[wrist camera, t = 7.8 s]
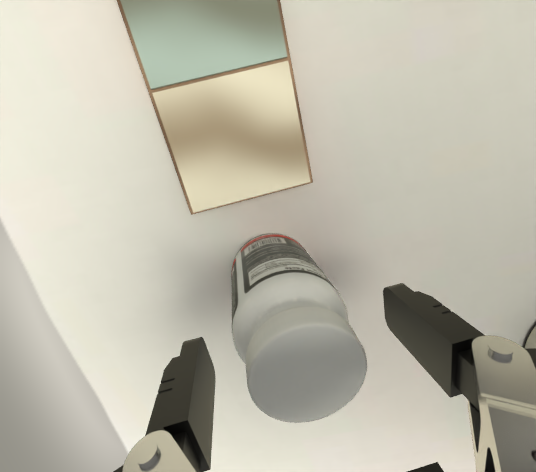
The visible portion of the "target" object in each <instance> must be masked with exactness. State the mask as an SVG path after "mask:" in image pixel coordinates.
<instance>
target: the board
mask: <svg viewBox="0 0 536 472" xmlns="http://www.w3.org/2000/svg"><path fill="white" fill-rule="evenodd" d="M117 2H118V5H119V8H120V11H121V14H122V17H123V20H124V23H125V25H126V28H127V31H128V34H129V37H130V40H131V43H132V46H133V48H134V51H135V54H136V57H137V60H138V63H139V66H140V69H141V71H142V74H143V77H144V80H145V83H146V86H147V89H148V92H149V94H150V97H151V100H152V103H153V106H154V109H155V112H156V115H157V118H158V120H159V123H160V126H161V129H162V132H163V135H164V138H165V141H166V143H167V146H168V149H169V152H170V155H171V158H172V161H173V164H174V166H175V169H176V172H177V175H178V178H179V181H180V184H181V187H182V189H183V192H184V195H185V198H186V201H187V204H188V207H189V210H190V212H191V214H195V213H199V212H203V211H207V210H210V209H214V208H218V207H222V206H225V205H229V204H233V203H237V202H241V201H244V200H248V199H252V198H256V197H260V196H263V195H267V194H271V193H275V192H278V191H282V190H286V189H290V188H294V187H297V186H301V185H305V184H309V183H312V182H313V180H312V175H311V169H310V164H309V158H308V153H307V147H306V141H305V136H304V130H303V125H302V119H301V114H300V108H299V103H298V97H297V92H296V86H295V81H294V75H293V70H292V64H291V59H290V53H289V48H288V42H287V37H286V31H285V26H284V20H283V15H282V9H281V3H280V0H117Z"/></svg>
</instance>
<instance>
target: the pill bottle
mask: <svg viewBox="0 0 536 472" xmlns="http://www.w3.org/2000/svg"><path fill="white" fill-rule="evenodd" d="M231 278H232V334H233V340H234V344H235V347H236V350H237V352H238V354H239V356H240V357H241V359H242V360H243V362H244V363H245V364H246V373H247V384H248V389H249V392H250V395H251V398H252V400H253V401H254V403H255V404H256V405H257V407H258V408H259V409H260V410H261V411H263V412H264V413H265V414H267V415H268V416H270V417H272V418H275V419H277V420H280V421H285V422H294V423H300V422H309V421H314V420H318V419H321V418H324V417H326V416H329V415H331V414H333V413H335V412H336V411H338V410H339V409H341V408H342V407H344V406H345V405H346V404H347V403H348V402H349V401H351V400H352V399H353V397H354V396H355V395H356V394H357V392H358V391H359V389H360V388H361V386H362V384H363V381H364V378H365V375H366V370H367V359H366V355H365V351H364V349H363V347H362V345H361V343H360V341H359V340H358V338H357V336H356V335H355V333H354V331H353V329H352V328H351V326H350V325H349V323H348V314H347V310H346V306H345V304H344V302H343V300H342V298H341V296H340V295H339V293H338V292H337V290H336V289H335V288H334V287H333V285H332V284H331V283H330V281H329V280H328V279H327V278H326V276H325V275H324V274H323V272H322V271H321V270H320V269H319V267H318V266H317V265H316V263H315V262H314V261H313V260H312V258H311V257H310V256H309V255H308V253H307V252H306V250H305V249H304V248H303V247H302V246H301V245H300V244H299V243H298V242H297V241H295V240H294V239H292V238H290V237H287V236H284V235H280V234H266V235H262V236H259V237H256V238H254V239H252V240H251V241H249V242H248V243H246V244H245V245H244V246H243V247H242V248H241V249H240V251H239V252H238V254H237V255H236V257H235V259H234V262H233V266H232V274H231Z"/></svg>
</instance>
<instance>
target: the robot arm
mask: <svg viewBox="0 0 536 472" xmlns="http://www.w3.org/2000/svg"><path fill="white" fill-rule="evenodd" d="M383 296H384V310H385V319H386V322H387V325H388V327H389V329H390V330H391V331H392V333H393V334H394V335H395V336H396V337H397V338H398V339H399V340H400V342H401V343H402V344H403V345H404V346H405V347H406V348H407V349H408V351H409V352H410V353H411V354H412V355H413V356H414V357H415V358H416V360H417V361H418V362H419V363H420V364H421V365H422V366H423V367H424V369H425V370H426V371H427V372H428V373H429V374H430V375H431V376H432V378H433V379H434V380H435V381H436V382H437V383H438V384H439V385H440V386H441V388H442V389H443V390H444V391H445V392H446V393H447V394H448V395H449V397H453V396H457V395H460V394H463V395H464V396H465V397H466V398H467V399H468V412H469V420H470V427H471V434H472V441H473V449H474V456H475V465H476V472H536V326H535V327H534V329H533V330H532V332H531V334H530V335H529V337H528V339H527V342H526V345H525V348H523V347H522V346H520V345H519V344H517V343H515V342H513V341H511V340H508V339H506V338H502V337H498V336H490V335H486V336H485V335H484V334H482V333H481V332H480V331H478V330H477V329H475V328H474V327H473V326H471V325H470V324H469V323H467V322H466V321H464V320H463V319H462V318H460V317H459V316H458V315H456V314H455V313H454V312H451V311H450V310H449V309H448V308H447V307H445V306H442V304H441V303H440V302H438V301H437V300H436V299H434V298H433V297H432V296H429V295H426V294H424V293H421V292H419V291H417V292H414V291H412V290H411V289H410V288H408V287H407V286H406V285H404V284H402V283H400V284H397V285H393V286H389V287H386V288H384V290H383ZM214 395H215V371H214V366H213V363H212V360H211V358H210V355H209V352H208V350H207V347H206V344H205V341H204V339H203V338H202V337H200V338H196V339H192V340H188V341H185V342H183V345H182V349H181V353H180V356H179V357H175V358H172V360H171V361H170V363H169V364H168V365H167V367H166V368H165V370H164V373H163V377H162V380H161V384H160V387H159V390H158V394H157V397H156V401H155V404H154V408H153V411H152V415H151V418H150V421H149V425H148V428H147V432H146V435H145V437H143V438H142V439H141V440H140V441H139V442H138V443H137V444H136V445H135V446H134V447H133V448H132V450H131V451H130V452H129V454H128V456H127V458H126V460H125V463H124V465H123V466H121V467H120V468H118V469H117V470H115V471H114V472H204V471H207V470H210V465H211V448H212V430H213V412H214ZM408 472H444V471H443V470H442V468H441V467H440V465H439V464H438V462H436V463H433V464H430V465H427V466H424V467H420V468H417V469H414V470H411V471H408Z"/></svg>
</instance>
